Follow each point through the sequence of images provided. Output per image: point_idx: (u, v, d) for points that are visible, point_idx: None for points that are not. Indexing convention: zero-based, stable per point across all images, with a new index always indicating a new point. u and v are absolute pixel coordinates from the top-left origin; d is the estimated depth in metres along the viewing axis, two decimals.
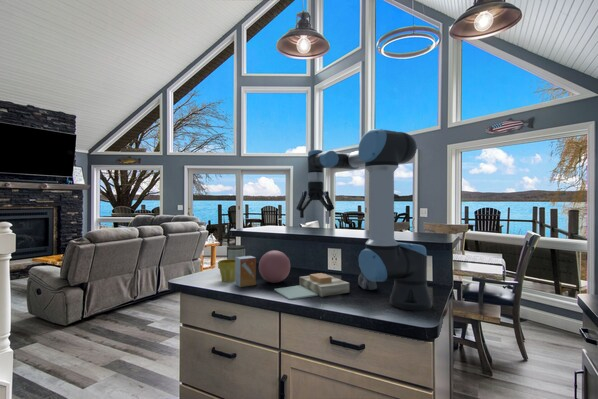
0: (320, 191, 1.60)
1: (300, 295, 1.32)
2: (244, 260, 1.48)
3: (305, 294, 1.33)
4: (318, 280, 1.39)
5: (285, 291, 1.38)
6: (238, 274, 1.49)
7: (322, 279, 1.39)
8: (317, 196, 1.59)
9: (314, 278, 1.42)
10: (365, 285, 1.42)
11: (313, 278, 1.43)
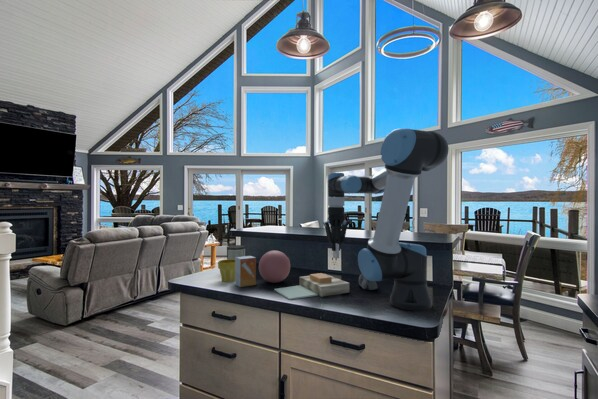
0: (342, 216, 1.48)
1: (300, 295, 1.32)
2: (244, 260, 1.48)
3: (305, 294, 1.33)
4: (318, 280, 1.39)
5: (285, 291, 1.38)
6: (238, 274, 1.49)
7: (322, 279, 1.39)
8: (338, 222, 1.47)
9: (314, 278, 1.42)
10: (365, 285, 1.42)
11: (313, 278, 1.43)
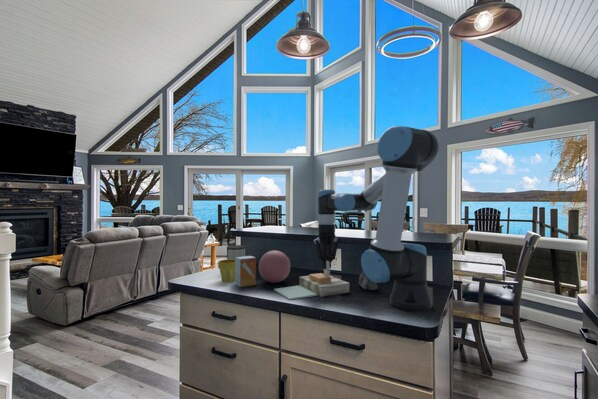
0: (333, 233, 1.46)
1: (300, 295, 1.32)
2: (244, 260, 1.48)
3: (305, 294, 1.33)
4: (317, 280, 1.39)
5: (285, 291, 1.38)
6: (238, 274, 1.49)
7: (321, 279, 1.39)
8: (328, 240, 1.44)
9: (313, 278, 1.42)
10: (365, 285, 1.42)
11: (312, 278, 1.43)
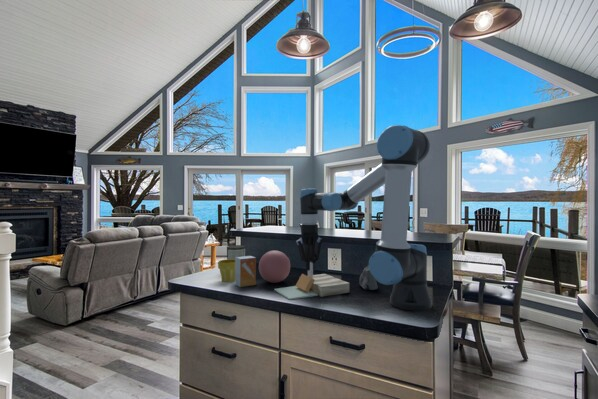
0: (316, 234, 1.42)
1: (300, 295, 1.32)
2: (244, 260, 1.48)
3: (305, 294, 1.33)
4: None
5: (285, 291, 1.38)
6: (238, 274, 1.49)
7: (307, 288, 1.36)
8: (311, 240, 1.41)
9: (301, 288, 1.40)
10: (366, 285, 1.42)
11: (300, 288, 1.41)
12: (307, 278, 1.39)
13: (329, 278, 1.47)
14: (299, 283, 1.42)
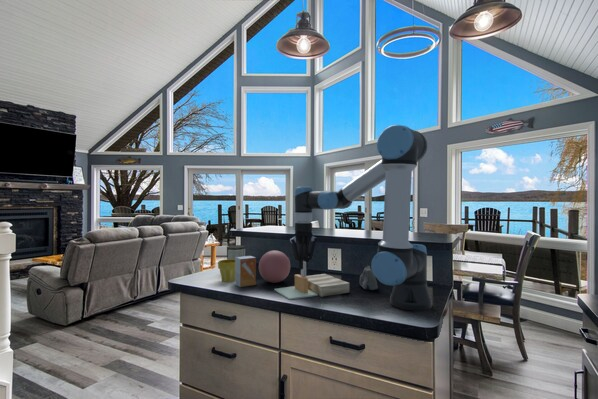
0: (310, 232, 1.40)
1: (300, 295, 1.32)
2: (244, 260, 1.48)
3: (305, 294, 1.33)
4: None
5: (285, 291, 1.38)
6: (238, 274, 1.49)
7: (304, 289, 1.35)
8: (305, 239, 1.39)
9: None
10: (366, 285, 1.42)
11: None
12: (300, 279, 1.37)
13: (329, 278, 1.47)
14: (296, 285, 1.41)
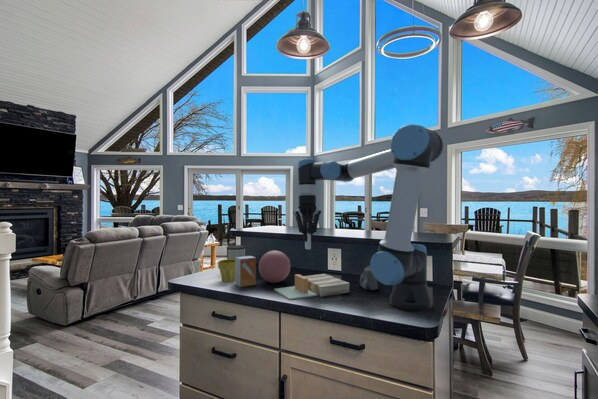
0: (314, 205, 1.41)
1: (300, 295, 1.32)
2: (244, 260, 1.48)
3: (305, 294, 1.33)
4: None
5: (285, 291, 1.38)
6: (238, 274, 1.49)
7: (304, 289, 1.35)
8: (309, 211, 1.39)
9: None
10: (366, 285, 1.42)
11: None
12: (300, 279, 1.37)
13: (329, 278, 1.47)
14: (296, 285, 1.41)
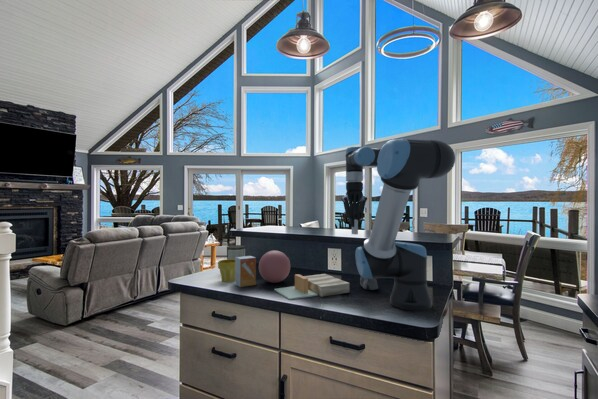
0: (361, 192, 1.45)
1: (300, 295, 1.32)
2: (244, 260, 1.48)
3: (305, 294, 1.33)
4: None
5: (285, 291, 1.38)
6: (238, 274, 1.49)
7: (304, 289, 1.35)
8: (356, 198, 1.44)
9: None
10: (366, 285, 1.42)
11: None
12: (300, 279, 1.37)
13: (329, 278, 1.47)
14: (296, 285, 1.41)
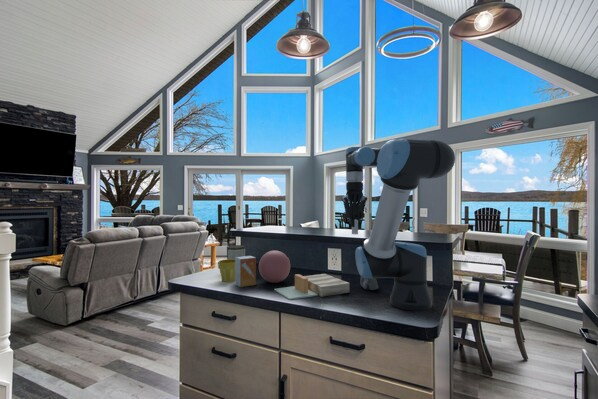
0: (361, 191, 1.45)
1: (300, 295, 1.32)
2: (244, 260, 1.48)
3: (305, 294, 1.33)
4: None
5: (285, 291, 1.38)
6: (238, 274, 1.49)
7: (304, 289, 1.35)
8: (356, 198, 1.44)
9: None
10: (366, 285, 1.42)
11: None
12: (300, 279, 1.37)
13: (329, 278, 1.47)
14: (296, 285, 1.41)
